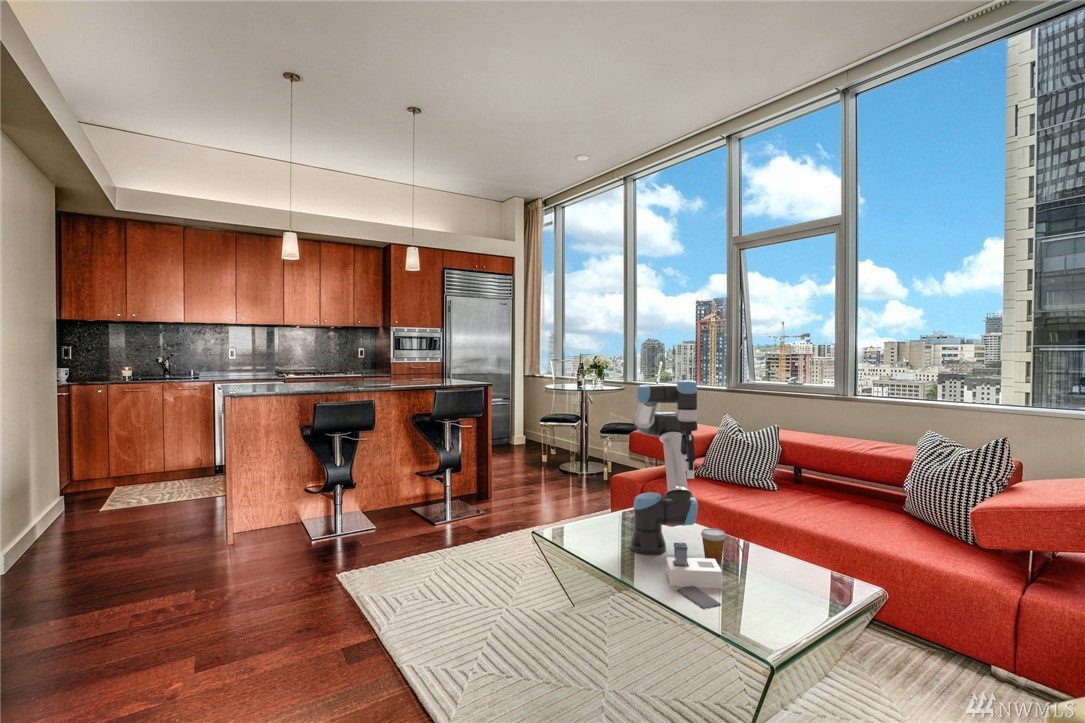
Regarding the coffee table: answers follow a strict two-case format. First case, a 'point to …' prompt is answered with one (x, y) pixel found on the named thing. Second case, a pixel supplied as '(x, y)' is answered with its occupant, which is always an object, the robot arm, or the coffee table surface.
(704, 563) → the socket box
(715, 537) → the disposable coffee cup
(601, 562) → the coffee table surface
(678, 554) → the plug
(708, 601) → the smartphone
